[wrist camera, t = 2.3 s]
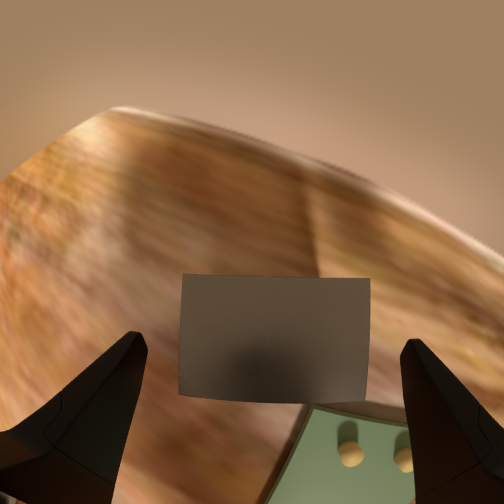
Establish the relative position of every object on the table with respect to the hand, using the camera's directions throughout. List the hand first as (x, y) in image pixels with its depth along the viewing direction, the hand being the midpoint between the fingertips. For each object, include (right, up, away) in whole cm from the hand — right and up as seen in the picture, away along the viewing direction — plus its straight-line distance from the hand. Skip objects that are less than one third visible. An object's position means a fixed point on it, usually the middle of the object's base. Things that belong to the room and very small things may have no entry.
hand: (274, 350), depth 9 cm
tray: (+7, -13, +6) cm, 16 cm away
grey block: (+1, -2, +9) cm, 10 cm away
